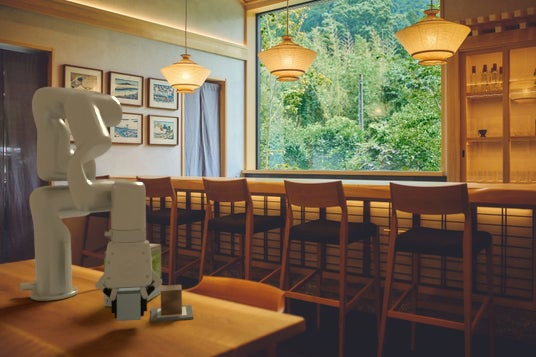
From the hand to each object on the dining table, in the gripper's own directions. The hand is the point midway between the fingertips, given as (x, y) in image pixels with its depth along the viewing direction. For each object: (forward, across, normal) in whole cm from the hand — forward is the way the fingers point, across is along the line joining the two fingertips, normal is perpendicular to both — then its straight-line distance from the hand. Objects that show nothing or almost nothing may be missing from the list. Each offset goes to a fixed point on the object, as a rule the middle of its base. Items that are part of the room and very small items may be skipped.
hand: (129, 314), depth 109 cm
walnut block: (+3, +9, +8) cm, 12 cm away
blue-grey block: (+1, 0, 0) cm, 1 cm away
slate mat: (+3, +10, +8) cm, 13 cm away
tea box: (+4, 0, +24) cm, 24 cm away
